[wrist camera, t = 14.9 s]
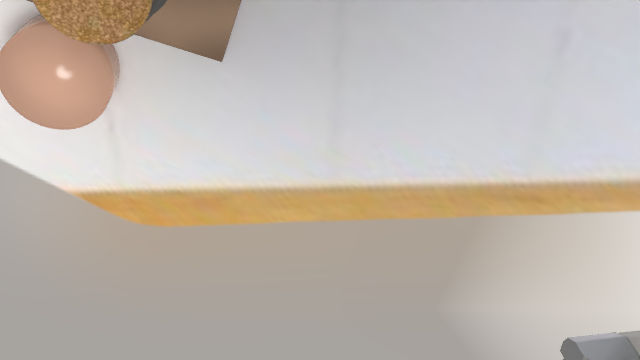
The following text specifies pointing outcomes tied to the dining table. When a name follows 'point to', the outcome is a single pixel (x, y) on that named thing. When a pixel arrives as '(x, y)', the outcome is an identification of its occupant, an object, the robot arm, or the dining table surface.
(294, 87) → the dining table surface
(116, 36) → the bottle
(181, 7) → the board
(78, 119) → the peach dome knob
